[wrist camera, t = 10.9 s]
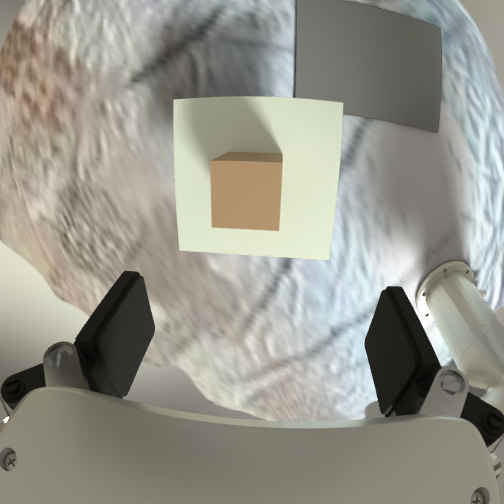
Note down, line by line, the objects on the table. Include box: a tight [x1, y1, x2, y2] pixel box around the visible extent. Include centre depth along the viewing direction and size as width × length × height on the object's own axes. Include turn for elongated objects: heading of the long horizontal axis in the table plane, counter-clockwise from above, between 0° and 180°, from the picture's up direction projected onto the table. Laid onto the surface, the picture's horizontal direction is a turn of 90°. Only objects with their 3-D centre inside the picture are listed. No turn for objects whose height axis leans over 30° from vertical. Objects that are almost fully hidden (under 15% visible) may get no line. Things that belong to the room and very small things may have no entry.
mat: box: [295, 0, 442, 133], centre depth 27 cm, size 20×16×1 cm
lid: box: [173, 96, 343, 260], centre depth 21 cm, size 14×14×7 cm
